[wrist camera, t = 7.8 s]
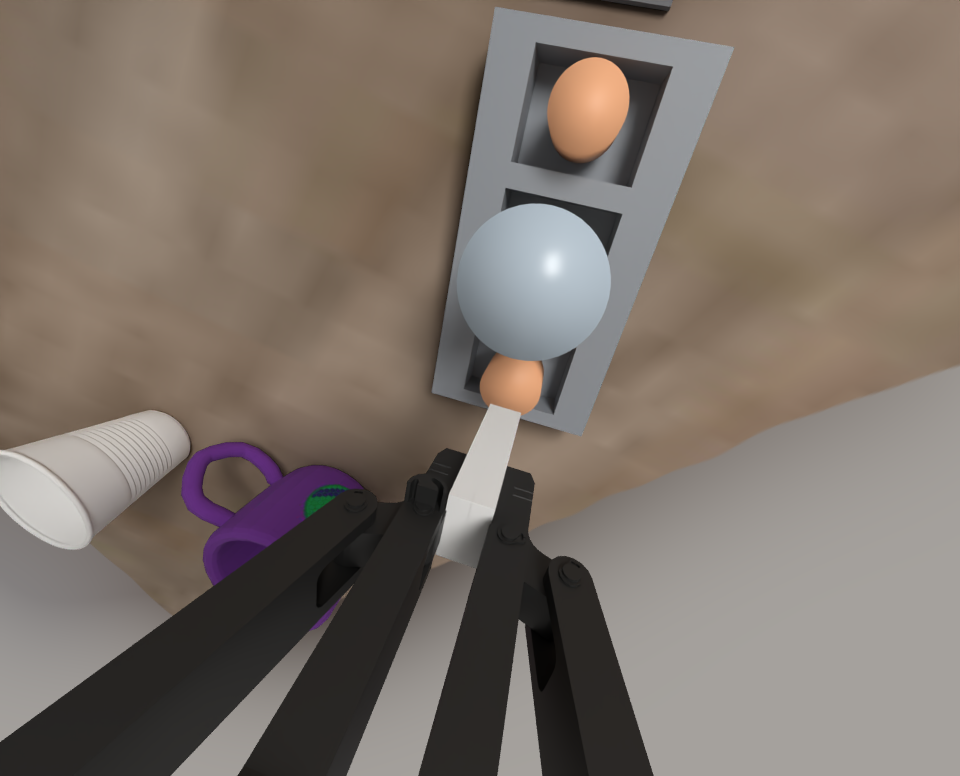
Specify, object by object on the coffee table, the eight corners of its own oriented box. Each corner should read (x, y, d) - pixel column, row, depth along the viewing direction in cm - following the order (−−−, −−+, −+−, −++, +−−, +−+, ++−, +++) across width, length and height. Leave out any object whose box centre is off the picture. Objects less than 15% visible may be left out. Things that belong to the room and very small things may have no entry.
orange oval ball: (561, 75, 19) (560, 50, 16) (631, 88, 18) (642, 65, 16) (542, 155, 20) (538, 145, 18) (606, 169, 20) (612, 161, 17)
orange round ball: (496, 338, 24) (486, 353, 21) (550, 353, 23) (548, 370, 21) (484, 387, 25) (474, 407, 23) (535, 402, 25) (531, 423, 22)
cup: (224, 445, 38) (105, 522, 28) (185, 486, 42) (69, 565, 32) (147, 373, 36) (-9, 428, 26) (115, 422, 40) (-31, 486, 31)
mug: (408, 515, 36) (356, 609, 27) (344, 558, 41) (283, 650, 32) (274, 388, 34) (168, 447, 25) (222, 450, 38) (118, 518, 30)
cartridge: (519, 205, 23) (472, 187, 12) (602, 224, 22) (636, 224, 11) (500, 288, 25) (445, 340, 14) (575, 307, 25) (581, 377, 13)
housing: (505, 35, 20) (495, 6, 17) (711, 72, 19) (734, 47, 16) (444, 377, 29) (431, 392, 27) (580, 416, 28) (581, 436, 25)
